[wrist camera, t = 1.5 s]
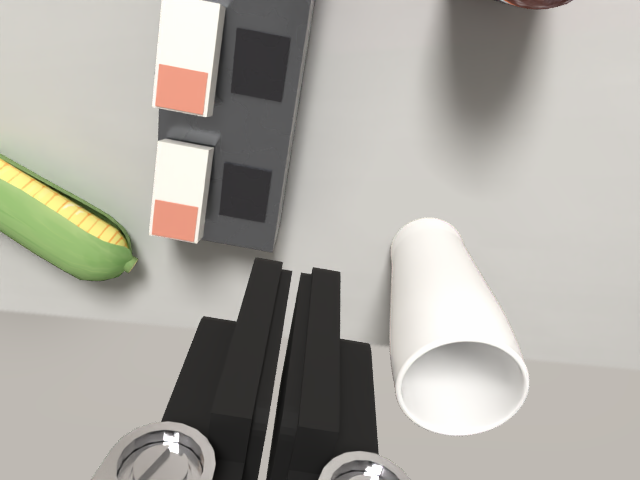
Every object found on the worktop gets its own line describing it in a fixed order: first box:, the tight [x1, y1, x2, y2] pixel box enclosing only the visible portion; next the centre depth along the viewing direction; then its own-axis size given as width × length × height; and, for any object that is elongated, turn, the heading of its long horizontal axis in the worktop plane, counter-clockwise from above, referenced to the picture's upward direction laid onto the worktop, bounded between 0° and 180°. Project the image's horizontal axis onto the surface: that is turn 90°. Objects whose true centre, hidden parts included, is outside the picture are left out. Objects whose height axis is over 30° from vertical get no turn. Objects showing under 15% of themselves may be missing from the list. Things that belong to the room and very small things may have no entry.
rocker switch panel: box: [158, 0, 315, 252], centre depth 32 cm, size 8×24×4 cm, turn 170°
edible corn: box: [0, 154, 138, 281], centre depth 37 cm, size 5×20×5 cm
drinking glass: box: [389, 218, 530, 436], centre depth 33 cm, size 7×7×15 cm
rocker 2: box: [149, 139, 214, 243], centre depth 33 cm, size 3×6×2 cm, turn 170°
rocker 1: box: [152, 0, 226, 117], centre depth 29 cm, size 3×6×2 cm, turn 170°
